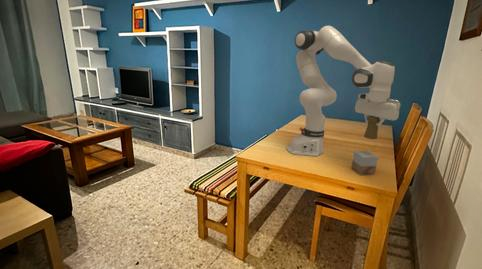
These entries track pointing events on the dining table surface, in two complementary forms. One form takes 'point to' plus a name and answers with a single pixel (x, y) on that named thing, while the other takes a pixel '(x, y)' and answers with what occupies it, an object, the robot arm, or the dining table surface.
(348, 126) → the dining table surface
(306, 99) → the robot arm
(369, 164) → the grey block
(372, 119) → the cork
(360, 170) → the walnut block
